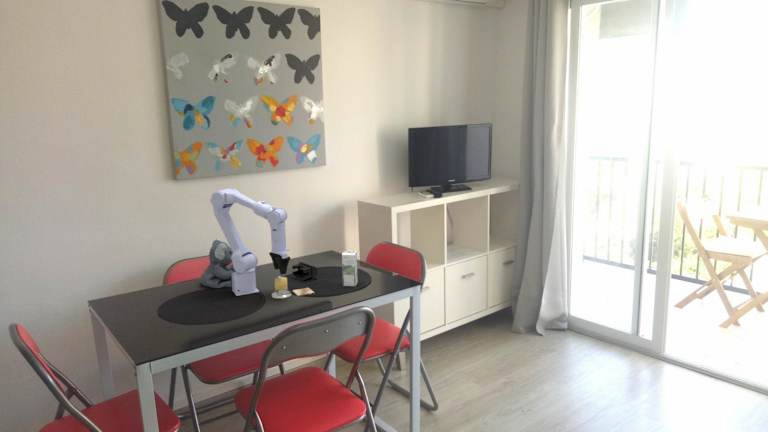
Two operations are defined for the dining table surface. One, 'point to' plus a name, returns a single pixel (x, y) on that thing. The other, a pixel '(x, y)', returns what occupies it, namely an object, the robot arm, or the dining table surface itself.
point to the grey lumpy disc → (281, 294)
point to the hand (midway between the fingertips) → (280, 271)
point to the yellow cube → (280, 283)
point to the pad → (303, 291)
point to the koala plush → (219, 266)
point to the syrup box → (349, 268)
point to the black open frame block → (304, 272)
